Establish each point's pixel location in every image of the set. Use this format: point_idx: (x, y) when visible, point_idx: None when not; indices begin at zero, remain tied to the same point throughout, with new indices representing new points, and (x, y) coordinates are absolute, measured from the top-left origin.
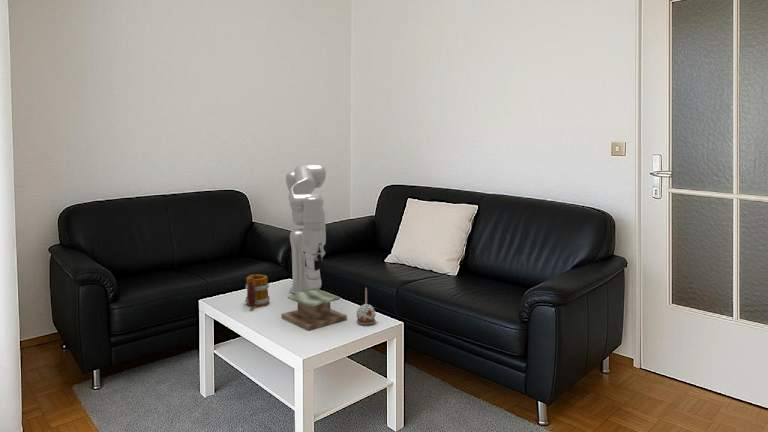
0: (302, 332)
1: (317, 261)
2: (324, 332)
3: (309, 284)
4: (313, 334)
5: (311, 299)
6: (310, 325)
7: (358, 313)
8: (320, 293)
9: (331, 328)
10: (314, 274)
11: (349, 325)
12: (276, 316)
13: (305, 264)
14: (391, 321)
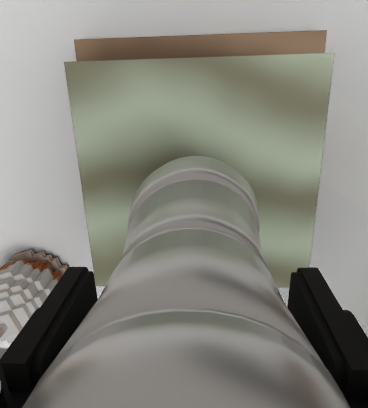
0: (76, 4)
1: (2, 376)
2: (24, 89)
3: (166, 165)
4: (26, 33)
5: (155, 141)
6: (76, 55)
7: (19, 273)
8: None
9: (53, 143)
10: (128, 240)
11: (46, 217)
12: (363, 28)
13: (315, 281)
14: (7, 341)
